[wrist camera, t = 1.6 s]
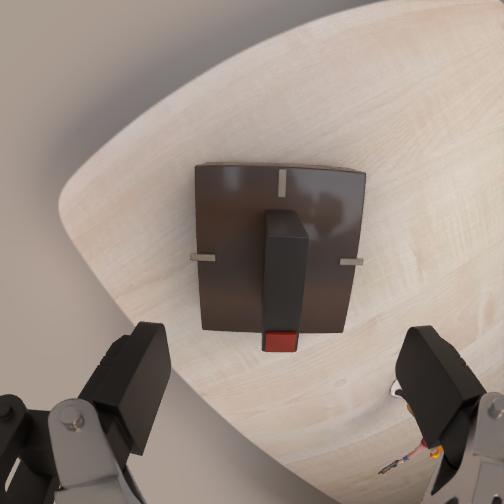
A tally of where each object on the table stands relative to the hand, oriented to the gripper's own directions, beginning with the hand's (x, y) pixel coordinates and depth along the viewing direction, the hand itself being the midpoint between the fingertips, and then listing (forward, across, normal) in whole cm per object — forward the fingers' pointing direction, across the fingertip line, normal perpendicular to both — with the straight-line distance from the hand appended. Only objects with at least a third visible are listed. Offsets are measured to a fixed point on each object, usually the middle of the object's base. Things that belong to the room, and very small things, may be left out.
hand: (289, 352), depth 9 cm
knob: (+8, 0, 0) cm, 8 cm away
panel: (+11, 0, 0) cm, 11 cm away
